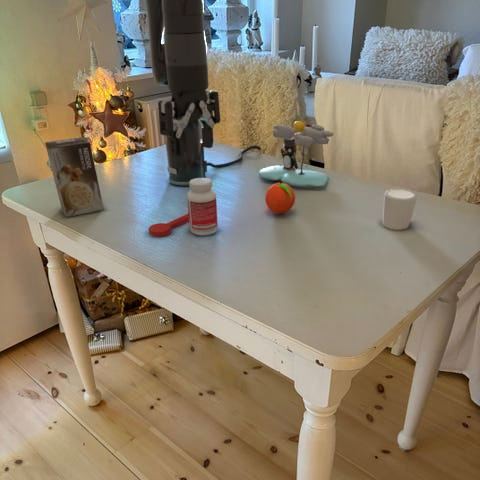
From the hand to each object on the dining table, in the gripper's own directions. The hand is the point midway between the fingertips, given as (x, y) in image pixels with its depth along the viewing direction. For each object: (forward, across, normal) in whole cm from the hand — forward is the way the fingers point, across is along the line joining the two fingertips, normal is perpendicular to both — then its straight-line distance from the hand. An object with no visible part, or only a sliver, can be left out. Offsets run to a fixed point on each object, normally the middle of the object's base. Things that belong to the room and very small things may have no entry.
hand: (193, 152), depth 98 cm
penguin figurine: (+17, +39, +2) cm, 43 cm away
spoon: (+17, 0, +6) cm, 18 cm away
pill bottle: (+17, +1, -1) cm, 17 cm away
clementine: (+17, +19, -8) cm, 27 cm away
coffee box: (+17, -8, +31) cm, 37 cm away
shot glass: (+17, +29, -32) cm, 47 cm away
